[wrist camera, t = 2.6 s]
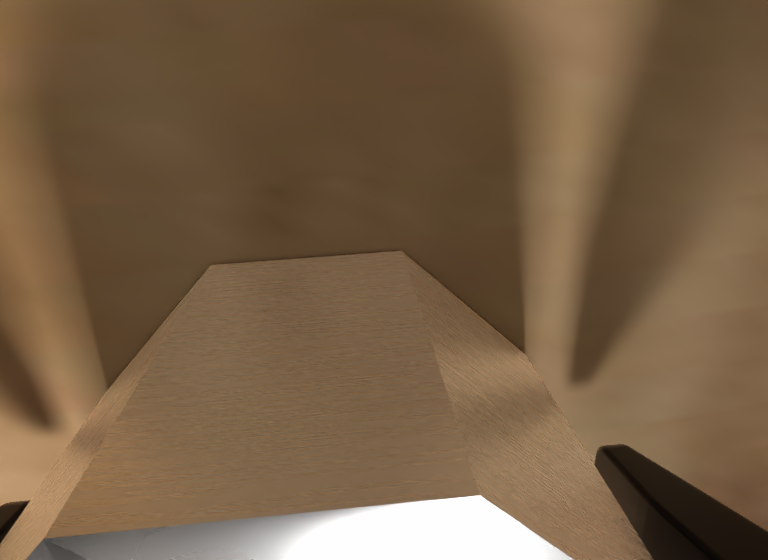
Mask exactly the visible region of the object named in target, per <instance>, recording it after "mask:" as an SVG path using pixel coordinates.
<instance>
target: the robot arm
mask: <svg viewBox="0 0 768 560" xmlns="http://www.w3.org/2000/svg"><path fill="white" fill-rule="evenodd" d="M595 467H596V468H597V470H598V471H599V473H600V475H601V476H602V478H603V479H604V481H605V483H606V484H607V486H608V487H609V489H610V491H611V492H612V494H613V495H614V497H615V499H616V500H617V502H618V503H619V505H620V507H621V508H622V510H623V511H624V513H625V515H626V516H627V518H628V520H629V521H630V523H631V524H632V526H633V528H634V529H635V531H636V532H637V534H638V536H639V537H640V539H641V540H642V542H643V544H644V545H645V547H646V548H647V550H648V552H649V553H650V555H651V556H652V558H653V560H768V531H766V530H764V529H763V528H761V527H759V526H758V525H756V524H755V523H753V522H751V521H750V520H748V519H746V518H745V517H743V516H741V515H740V514H738V513H737V512H735V511H733V510H732V509H730V508H728V507H727V506H725V505H723V504H722V503H720V502H719V501H717V500H715V499H714V498H712V497H710V496H709V495H707V494H706V493H704V492H702V491H701V490H699V489H697V488H696V487H694V486H692V485H691V484H689V483H688V482H686V481H684V480H683V479H681V478H679V477H678V476H676V475H674V474H673V473H671V472H670V471H668V470H666V469H665V468H663V467H661V466H660V465H658V464H656V463H655V462H653V461H652V460H650V459H648V458H647V457H645V456H643V455H642V454H640V453H639V452H637V451H635V450H634V449H632V448H630V447H629V446H627V445H624V444H617V445H606V446H601V447H600V448H598V450H597V453H596V459H595ZM29 502H30V500H29V501H18V502H10V503H6V504H3V505H2V506H0V544H1V542H2V541H3V539H4V538H5V536H6V535H7V534H8V532H9V531H10V529H11V528H12V526H13V525H14V524H15V522H16V521H17V519H18V518H19V516H20V515H21V513H22V512H23V511H24V509H25V508H26V506H27V505H28V503H29Z"/></svg>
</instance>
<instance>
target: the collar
mask: <svg viewBox="0 0 768 560" xmlns="http://www.w3.org/2000/svg"><path fill="white" fill-rule="evenodd" d="M0 560H653V558H652V556H651V555H650V553H649V552H648V550H647V548H646V547H645V545H644V544H643V542H642V540H641V539H640V537H639V536H638V534H637V532H636V531H635V529H634V528H633V526H632V524H631V523H630V521H629V520H628V518H627V516H626V515H625V513H624V511H623V510H622V508H621V507H620V505H619V503H618V502H617V500H616V499H615V497H614V495H613V494H612V492H611V491H610V489H609V487H608V486H607V484H606V483H605V481H604V479H603V478H602V476H601V475H600V473H599V471H598V470H597V468H596V467H595V465H594V463H593V462H592V460H591V459H590V457H589V455H588V454H587V452H586V451H585V449H584V447H583V446H582V444H581V443H580V441H579V439H578V438H577V436H576V435H575V433H574V431H573V430H572V428H571V427H570V425H569V423H568V422H567V420H566V419H565V417H564V415H563V414H562V412H561V410H560V409H559V407H558V406H557V404H556V402H555V401H554V399H553V398H552V396H551V394H550V393H549V391H548V390H547V388H546V386H545V385H544V383H543V382H542V380H541V378H540V377H539V375H538V374H537V372H536V370H535V369H534V367H533V366H532V364H531V362H530V361H529V359H528V358H527V356H526V355H525V354H524V353H523V352H522V351H521V350H519V349H518V348H517V347H516V346H515V345H514V344H512V343H511V342H510V341H509V340H508V339H506V338H505V337H504V336H503V335H502V334H500V333H499V332H498V331H497V330H496V329H494V328H493V327H492V326H491V325H490V324H488V323H487V322H486V321H485V320H484V319H483V318H481V317H480V316H479V315H478V314H477V313H475V312H474V311H473V310H472V309H471V308H469V307H468V306H467V305H466V304H465V303H463V302H462V301H461V300H460V299H459V298H457V297H456V296H455V295H454V294H453V293H452V292H450V291H449V290H448V289H447V288H446V287H444V286H443V285H442V284H441V283H440V282H438V281H437V280H436V279H435V278H434V277H432V276H431V275H430V274H429V273H428V272H426V271H425V270H424V269H423V268H422V267H421V266H419V265H418V264H417V263H416V262H415V261H413V260H412V259H411V258H410V257H409V256H407V255H406V254H405V253H404V252H403V251H390V252H377V253H364V254H350V255H337V256H324V257H311V258H297V259H284V260H271V261H257V262H244V263H231V264H218V265H210V267H209V268H208V269H207V270H206V271H205V273H204V274H203V275H202V276H201V277H200V279H199V280H198V281H197V282H196V283H195V285H194V286H193V287H192V288H191V289H190V291H189V292H188V293H187V294H186V295H185V297H184V298H183V299H182V300H181V302H180V303H179V304H178V305H177V306H176V308H175V309H174V310H173V311H172V312H171V314H170V315H169V316H168V317H167V318H166V320H165V321H164V322H163V323H162V324H161V326H160V327H159V328H158V329H157V330H156V332H155V333H154V334H153V335H152V336H151V338H150V339H149V340H148V341H147V343H146V344H145V345H144V346H143V347H142V349H141V350H140V351H139V352H138V353H137V355H136V356H135V357H134V358H133V359H132V361H131V362H130V363H129V364H128V365H127V367H126V368H125V369H124V370H123V371H122V373H121V374H120V375H119V376H118V377H117V379H116V380H115V381H114V382H113V384H112V385H111V386H110V387H109V388H108V390H107V391H106V392H105V394H104V395H103V396H102V398H101V399H100V401H99V402H98V404H97V405H96V407H95V408H94V409H93V411H92V412H91V414H90V415H89V417H88V418H87V420H86V421H85V422H84V424H83V425H82V427H81V428H80V430H79V431H78V433H77V434H76V435H75V437H74V438H73V440H72V441H71V443H70V444H69V446H68V447H67V448H66V450H65V451H64V453H63V454H62V456H61V457H60V459H59V460H58V461H57V463H56V464H55V466H54V467H53V469H52V470H51V472H50V473H49V474H48V476H47V477H46V479H45V480H44V482H43V483H42V485H41V486H40V487H39V489H38V490H37V492H36V493H35V495H34V496H33V498H32V499H31V500H30V502H29V503H28V505H27V506H26V508H25V509H24V511H23V512H22V513H21V515H20V516H19V518H18V519H17V521H16V522H15V524H14V525H13V526H12V528H11V529H10V531H9V532H8V534H7V535H6V536H5V538H4V539H3V541H2V542H1V544H0Z"/></svg>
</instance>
